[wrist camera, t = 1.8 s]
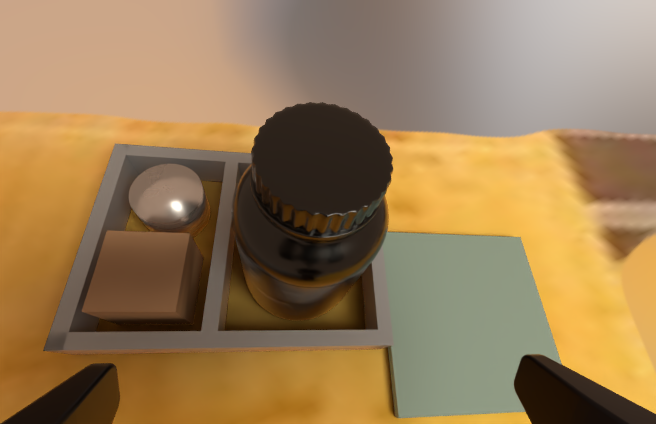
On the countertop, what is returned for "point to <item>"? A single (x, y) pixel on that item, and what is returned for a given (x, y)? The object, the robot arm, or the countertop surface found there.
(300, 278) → the supplement bottle
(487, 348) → the rubber mat
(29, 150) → the countertop surface
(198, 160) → the parts organiser
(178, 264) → the walnut block
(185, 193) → the silver round piece
